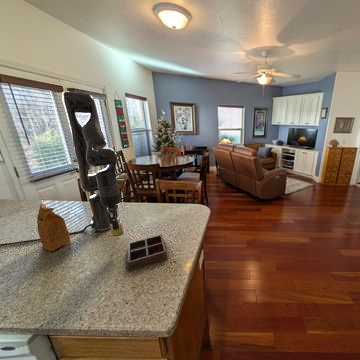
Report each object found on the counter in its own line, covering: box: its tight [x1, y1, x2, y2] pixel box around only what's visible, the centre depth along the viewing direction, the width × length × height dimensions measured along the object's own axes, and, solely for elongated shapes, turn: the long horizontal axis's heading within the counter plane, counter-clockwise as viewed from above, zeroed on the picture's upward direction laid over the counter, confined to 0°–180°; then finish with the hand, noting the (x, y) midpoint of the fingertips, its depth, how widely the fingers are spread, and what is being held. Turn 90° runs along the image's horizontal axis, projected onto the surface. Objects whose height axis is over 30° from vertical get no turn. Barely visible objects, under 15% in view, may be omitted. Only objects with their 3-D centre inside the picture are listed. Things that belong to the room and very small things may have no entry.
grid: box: [127, 234, 168, 271], centre depth 90 cm, size 16×16×4 cm
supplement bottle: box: [110, 216, 125, 238], centre depth 89 cm, size 5×5×8 cm
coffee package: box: [36, 203, 72, 252], centre depth 94 cm, size 10×12×22 cm
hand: (116, 226), depth 89 cm, fingers closed on supplement bottle, 4 cm apart
